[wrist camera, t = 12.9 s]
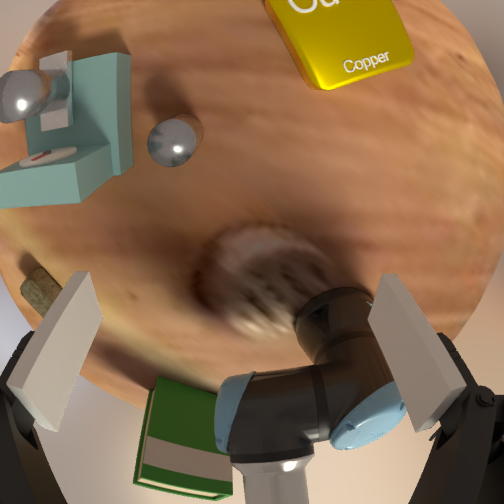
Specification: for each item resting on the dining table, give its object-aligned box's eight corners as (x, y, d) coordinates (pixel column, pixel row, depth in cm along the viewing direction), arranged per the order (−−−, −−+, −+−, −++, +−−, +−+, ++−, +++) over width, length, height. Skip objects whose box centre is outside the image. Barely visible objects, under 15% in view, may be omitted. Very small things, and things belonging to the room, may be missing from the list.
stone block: (40, 261, 44) (27, 277, 40) (82, 306, 49) (72, 324, 45) (27, 275, 46) (14, 291, 41) (67, 317, 51) (57, 334, 46)
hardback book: (149, 390, 62) (132, 483, 41) (158, 375, 59) (140, 477, 38) (217, 412, 67) (216, 501, 46) (231, 399, 64) (232, 495, 43)
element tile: (309, 95, 34) (319, 96, 30) (257, -3, 27) (260, -15, 23) (404, 63, 32) (422, 62, 27) (358, -29, 25) (372, -40, 20)
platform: (80, 122, 29) (68, 126, 27) (54, 127, 29) (41, 131, 27) (79, 52, 25) (67, 50, 22) (52, 59, 25) (39, 58, 22)
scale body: (133, 165, 37) (89, 202, 25) (50, 172, 37) (-7, 209, 24) (131, 55, 30) (80, 43, 18) (43, 74, 29) (-22, 81, 17)
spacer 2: (203, 151, 37) (195, 166, 30) (165, 152, 37) (148, 167, 30) (203, 113, 35) (194, 119, 28) (164, 115, 34) (146, 121, 28)
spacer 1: (70, 107, 26) (28, 117, 19) (37, 115, 25) (-7, 127, 19) (70, 65, 23) (27, 64, 16) (36, 74, 23) (-9, 78, 16)
